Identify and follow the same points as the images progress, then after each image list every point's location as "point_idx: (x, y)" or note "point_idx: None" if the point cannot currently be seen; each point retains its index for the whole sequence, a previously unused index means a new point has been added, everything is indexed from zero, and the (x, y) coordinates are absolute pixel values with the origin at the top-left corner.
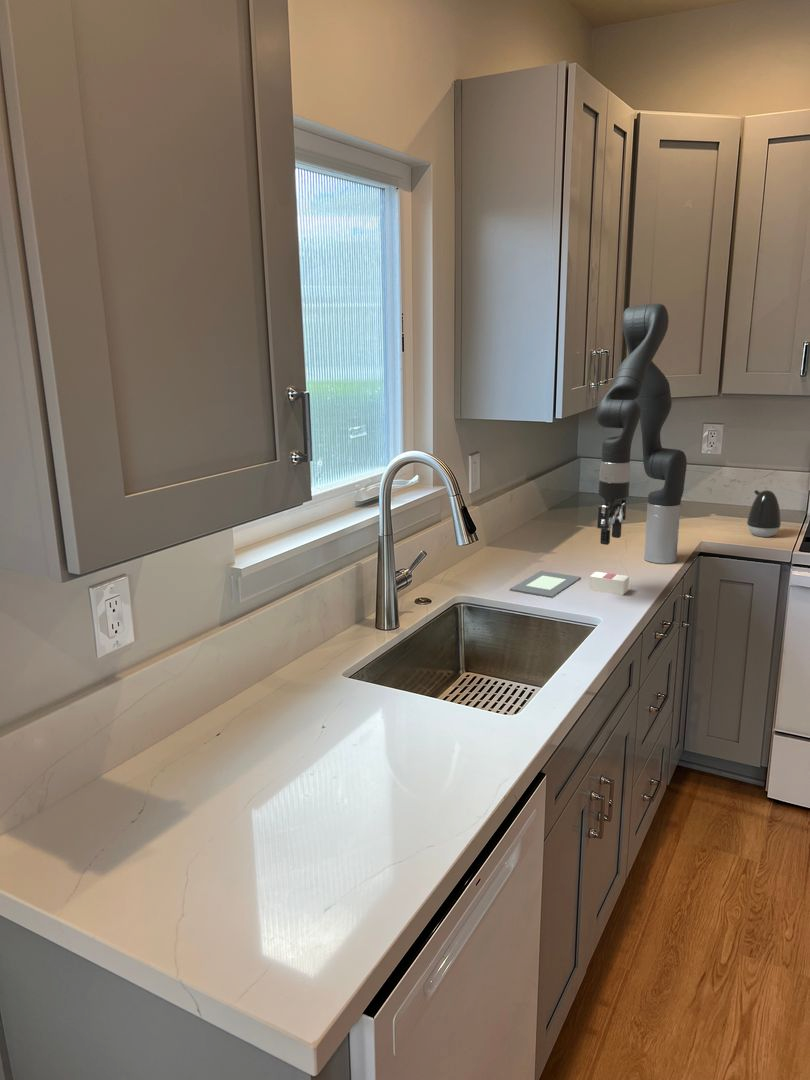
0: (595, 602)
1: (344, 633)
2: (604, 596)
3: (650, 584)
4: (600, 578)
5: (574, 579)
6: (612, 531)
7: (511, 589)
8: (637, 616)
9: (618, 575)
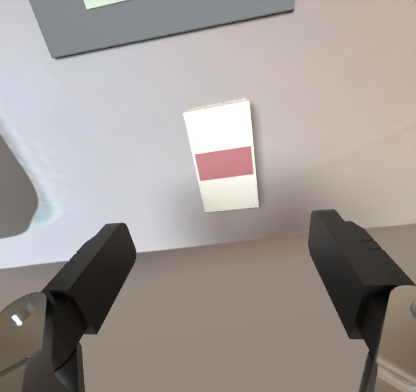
0: (119, 169)
1: None
2: (171, 166)
3: None
4: (192, 149)
5: (248, 6)
6: (327, 232)
7: None
8: None
9: (248, 181)
